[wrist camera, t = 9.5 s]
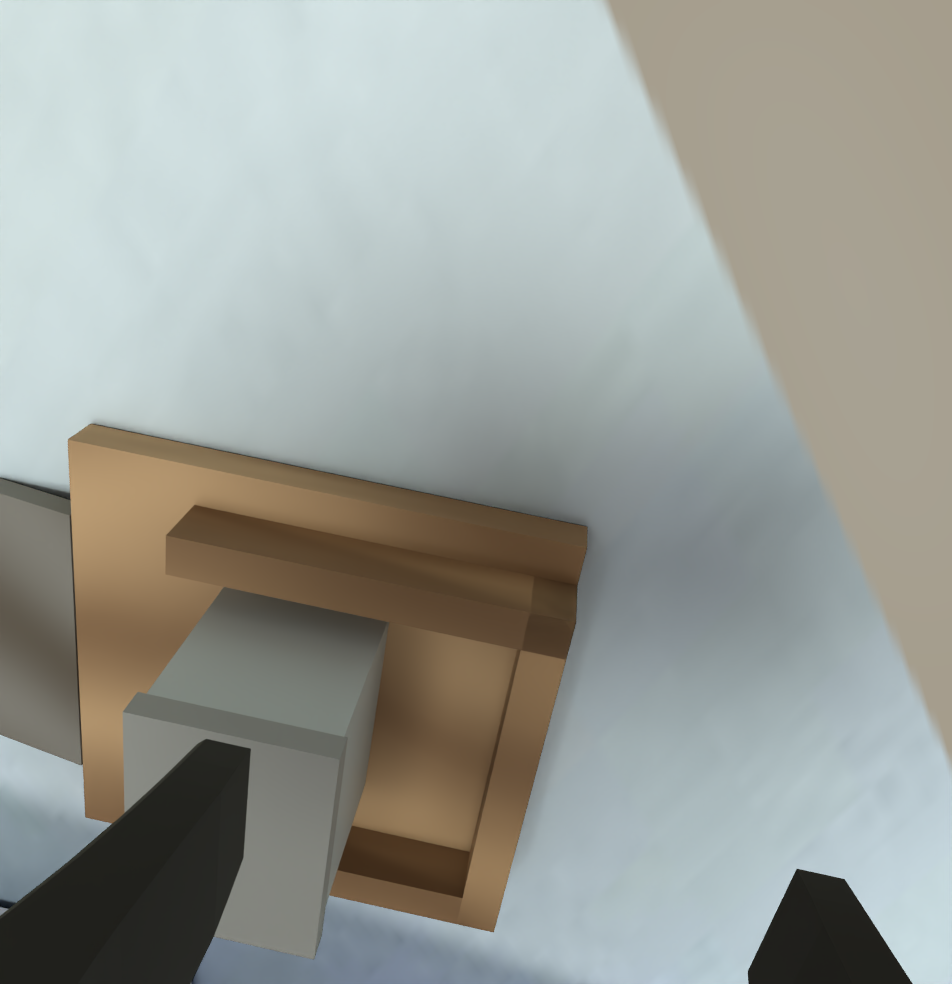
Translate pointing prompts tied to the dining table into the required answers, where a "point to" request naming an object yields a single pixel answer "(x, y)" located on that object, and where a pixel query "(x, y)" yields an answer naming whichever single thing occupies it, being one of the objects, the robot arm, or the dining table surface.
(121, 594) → the dock
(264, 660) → the grey lidded box
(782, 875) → the dining table surface
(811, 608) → the dining table surface
